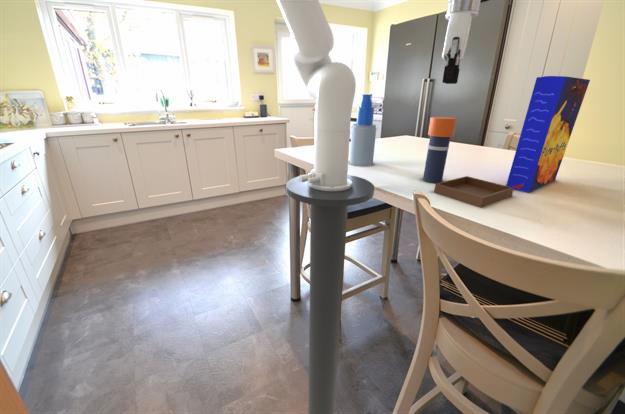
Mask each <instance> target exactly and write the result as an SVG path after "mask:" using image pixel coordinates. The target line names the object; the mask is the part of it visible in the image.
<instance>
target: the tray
mask: <svg viewBox="0 0 625 414" xmlns="http://www.w3.org/2000/svg"><path fill="white" fill-rule="evenodd" d="M514 191H515V190H514V188H512V187H508V186H506V185H504V184H500V183H495V182H492V181H488V180H484V179H480V178H476V177H472V176H469V175H465V176H461V177H457V178H453V179H449V180H444V181H442V182H440V183H434V188H433V193H435V194H437V195H440V196H445V197H448V198H451V199H454V200H457V201H460V202H463V203H465V204H469V205H472V206H475V207H478V208H484V207H486V206H490V205H492V204H494V203H497V202H500V201H503V200H506V199H510V198H512V196H513V193H514Z"/></svg>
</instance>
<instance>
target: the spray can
mask: <svg viewBox="0 0 625 414" xmlns="http://www.w3.org/2000/svg"><path fill="white" fill-rule="evenodd" d="M450 142H451V137H436V136H430V135H429V141H428V144H427V145H428V146H427V153H426V159H425V165H424V171H423V175H422V180H423V181H424V182H426V183H431V184H436V183H440V182H443V177H444V173H445V168H446V163H447V157H448V153H449V148H450Z"/></svg>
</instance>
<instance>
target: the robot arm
mask: <svg viewBox="0 0 625 414" xmlns="http://www.w3.org/2000/svg"><path fill="white" fill-rule="evenodd" d="M276 3H277V5H278V7H279V10H280V11H281V14H282V17H283V19H284V22H285V23H286V26H287V28H288V30H289V32H290V36H289V39H288V48H289V53H290V56H291V59H292V61H293V63H294V65H295V67H296V69H297V71H298V73H299V76H300V77H301V79H302V81H303V83H304V85H305V87H306V89H307V91H308V93H309V95H311V97H312V98H313V99H314V100H315V101H316V103H315V111H314V139H313V140H314V141H313V142H314V143H313V147H314V148H313V155H314V156H313V169H310V172H309V173H308V175H307V174H299V175H298V176H299V181H300V182H306V181H308V185H309V186H310V187H311V188H313V189H316V190H321V191H333V192H334V191H343V190H347V189H349V188H351V187H352V181H351V180H350V179H348V178H347V175H348V171H349V156H350V153H349V152H350V140H351V121H352V120H351V119H352V111H353V106H354V105H353V104H354V100H355V95H356V89H357V88H356V87H357V85H356V83H357V82H356V77H355V75H354V72H353V71H352V69H351V68H350V67H349V66H348V65H346V64H345V63H342V62H339V61H334V62H333V61H332V59H331V57H330V54H331V52H332V51H333V48H334V43H335V39H334V34H333V31H332V29H331V26H330V24H329V22H328V19H327V17H326V15H325V12H324V10H323V8H322V5H321V4H320V0H276ZM480 5H481V0H447V6H446V11H445V20H447V21H448V23H447V28H446V33H445V38H444V43H443V50H442V54H441V58H442V60H444V61H445V65H444V70H443V76H442V83H443V84H446V85H457V84H458V81H459V75H460V66H461V65H460V64H461V61H462V60H463V59H464V56H465V52H466V50H467V49H466V48H467V46H468V40H469V37H470V31H471V25H472V20H473V19H474V18H477V17H478V16H479V11H480Z"/></svg>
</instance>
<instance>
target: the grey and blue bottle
mask: <svg viewBox="0 0 625 414" xmlns="http://www.w3.org/2000/svg"><path fill="white" fill-rule="evenodd" d="M356 110H357V112H356V123H353V124H352V126H351V135H350V150H349V152H350V153H349V164H350V165H352V166H358V167H370V166H372V165H373V164H374V155H375V147H376V146H375V145H376V136H377V135H376V134H377V125H376V124H373V123H374V113H375V107H373V94H372V93H371V94H361V96H360V101H359V106H357V109H356Z"/></svg>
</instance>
